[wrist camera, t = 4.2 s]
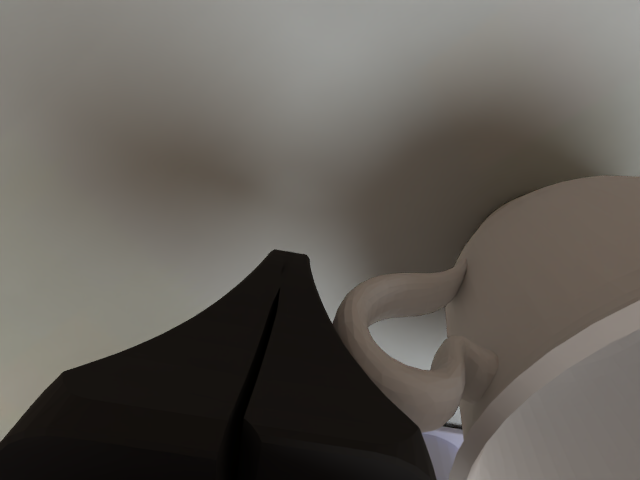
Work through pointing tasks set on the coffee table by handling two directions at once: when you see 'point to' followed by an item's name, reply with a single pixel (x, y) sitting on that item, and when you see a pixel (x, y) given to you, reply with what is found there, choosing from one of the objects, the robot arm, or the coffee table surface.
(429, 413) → the teacup
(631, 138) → the coffee table surface
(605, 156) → the coffee table surface
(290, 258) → the robot arm
